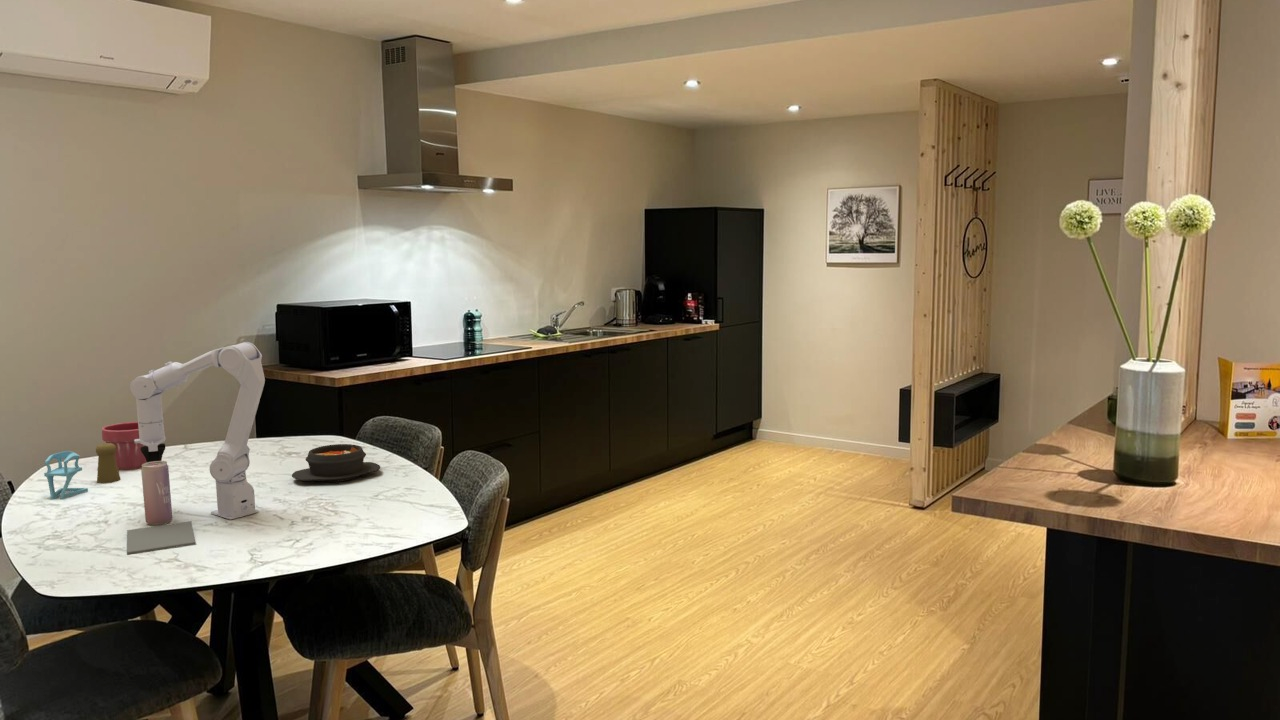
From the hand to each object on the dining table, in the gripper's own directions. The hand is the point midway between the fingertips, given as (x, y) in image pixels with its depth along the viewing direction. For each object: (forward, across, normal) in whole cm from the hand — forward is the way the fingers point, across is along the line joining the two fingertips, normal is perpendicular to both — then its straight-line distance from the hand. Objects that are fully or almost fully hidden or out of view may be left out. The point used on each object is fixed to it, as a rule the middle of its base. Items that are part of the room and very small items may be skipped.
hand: (155, 473), depth 238 cm
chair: (+11, -31, -22) cm, 40 cm away
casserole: (+11, -13, +47) cm, 50 cm away
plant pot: (+11, -59, -6) cm, 60 cm away
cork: (+11, -43, -12) cm, 46 cm away
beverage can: (+11, +9, 0) cm, 14 cm away
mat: (+10, +23, 0) cm, 25 cm away
